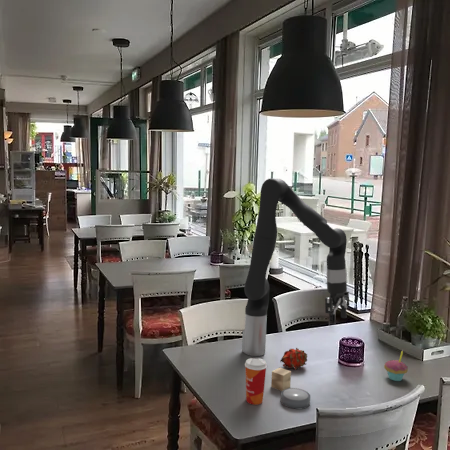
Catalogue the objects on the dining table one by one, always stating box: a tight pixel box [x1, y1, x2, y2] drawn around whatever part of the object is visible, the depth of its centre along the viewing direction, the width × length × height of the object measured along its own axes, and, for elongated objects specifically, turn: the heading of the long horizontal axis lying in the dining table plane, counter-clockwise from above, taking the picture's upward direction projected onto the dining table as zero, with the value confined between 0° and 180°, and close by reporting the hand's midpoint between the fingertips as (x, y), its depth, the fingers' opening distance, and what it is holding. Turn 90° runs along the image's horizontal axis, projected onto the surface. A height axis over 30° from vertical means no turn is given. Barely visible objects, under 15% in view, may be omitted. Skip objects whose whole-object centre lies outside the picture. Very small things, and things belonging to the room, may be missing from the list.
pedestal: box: [280, 387, 311, 409], centre depth 168 cm, size 10×10×3 cm
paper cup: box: [244, 357, 268, 406], centre depth 167 cm, size 8×8×14 cm
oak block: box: [270, 367, 292, 392], centre depth 179 cm, size 5×5×6 cm
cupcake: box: [383, 349, 409, 382], centre depth 189 cm, size 9×8×12 cm
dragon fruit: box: [280, 347, 308, 371], centre depth 197 cm, size 8×8×12 cm
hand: (338, 320), depth 193 cm, fingers open, 8 cm apart
